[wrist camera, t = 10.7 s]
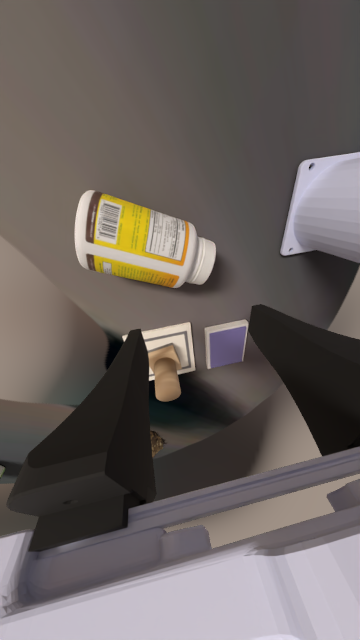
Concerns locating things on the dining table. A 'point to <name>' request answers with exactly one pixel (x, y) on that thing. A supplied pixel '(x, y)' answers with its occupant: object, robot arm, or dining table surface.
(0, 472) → the syrup box
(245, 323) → the ink pad
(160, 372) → the stamp
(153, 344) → the print sheet
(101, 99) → the dining table surface
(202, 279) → the supplement bottle
